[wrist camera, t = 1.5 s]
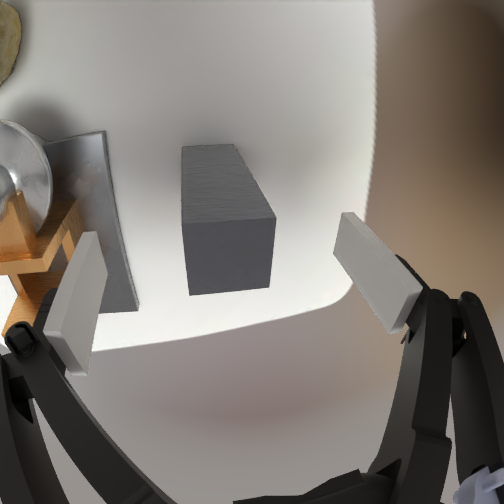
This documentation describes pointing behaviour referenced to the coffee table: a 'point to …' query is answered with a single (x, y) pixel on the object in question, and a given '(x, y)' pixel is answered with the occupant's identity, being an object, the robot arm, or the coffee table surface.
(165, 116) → the coffee table surface
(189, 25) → the coffee table surface
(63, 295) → the robot arm
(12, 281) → the multicoloured piece
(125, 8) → the coffee table surface
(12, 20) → the decorative object
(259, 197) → the dark gray rectangular block
